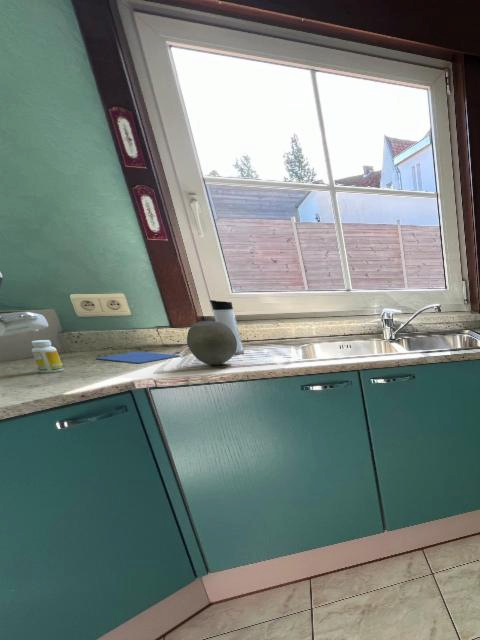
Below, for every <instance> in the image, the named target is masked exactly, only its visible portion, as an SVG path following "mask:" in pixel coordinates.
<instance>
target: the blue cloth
mask: <svg viewBox="0 0 480 640" xmlns="http://www.w3.org/2000/svg"><path fill="white" fill-rule="evenodd" d="M179 356H180V357H181V355H178V354H168V353H158V352H149V351H132V352H127V353H120V354H114V355H108V356H102V357H96V360H98V361H99V360H100V361H107V362H108V361H109V362H118V363H126V364H127V363H128V364H137V365H140V364H146V363H152V362H157V361H162V360H163V359H164V360H169V359H173V358H172V357H175V358H180V357H179ZM168 358H169V359H168ZM164 360H163V361H164Z"/></svg>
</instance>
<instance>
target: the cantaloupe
mask: <svg viewBox="0 0 480 640" xmlns="http://www.w3.org/2000/svg"><path fill="white" fill-rule="evenodd" d="M186 335H187V336H186V345H187V347H188V350H189V351H190V352H191V354H192V355H193V356H194V357H195V359H196V360H198V361H199V362H201V363H203V364H206V365H209V366H220V365H223V364H225V363H227V362H228V361H229V360H231V359H232V358H233V357H234V356H235V355H234V354H235V352H236V349H237V341H236V337H235V335H234V333H233V332H232V330H231V329H230V328H229V327H228V326H227V325H225V324H223V323H221V322H217V321H215V320H202V321H199V322H195V323H194V324H192V325H191V326H190V328H189V329H188V331H187V334H186Z"/></svg>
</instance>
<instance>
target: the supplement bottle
mask: <svg viewBox="0 0 480 640" xmlns="http://www.w3.org/2000/svg"><path fill="white" fill-rule="evenodd" d="M31 344H32V346H33V348H32V349H31V353H32V356H33V359H34V362H35V364H36V366H37V369H38V371H39V373H41V374H50V373H58V372H63V371H64V366H63V363H62V360H61V358H60V355H59V352H58V350H57V348H56V347H55V346H52V341H51V340H50V339H38V340H37V339H36V340H32V341H31Z"/></svg>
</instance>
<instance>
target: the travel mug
mask: <svg viewBox="0 0 480 640" xmlns="http://www.w3.org/2000/svg"><path fill="white" fill-rule="evenodd" d="M209 302H210V304H211V307H212V312H213V317H214V321H217V322H221V323H223V324H225V325H227V326H228V327H229V328H230V329H231V330H232V332H233V333H234V335H235V337H236V341H237V349H236V352H235V354H234V355H233V356H238V355H243V354H244V348H243V343H242V339H241V335H240V331H239V327H238V323H237V318H236V314H235V310H234V307H233V302H232V301H221V300H214V299H210V300H209Z"/></svg>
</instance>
